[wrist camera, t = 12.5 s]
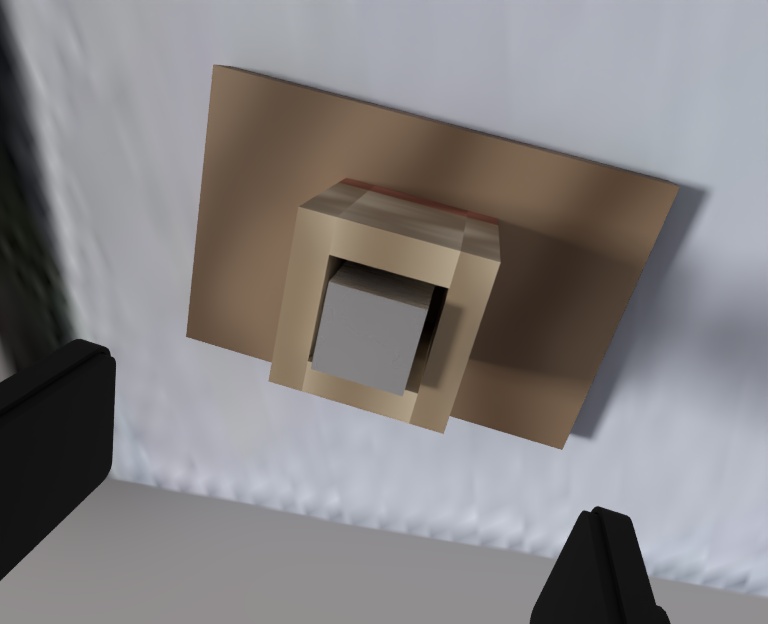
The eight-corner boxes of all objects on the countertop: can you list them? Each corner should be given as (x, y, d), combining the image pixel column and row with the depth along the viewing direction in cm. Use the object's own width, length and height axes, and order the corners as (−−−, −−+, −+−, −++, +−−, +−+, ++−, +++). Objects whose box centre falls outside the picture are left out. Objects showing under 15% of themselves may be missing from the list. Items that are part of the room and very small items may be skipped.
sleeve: (497, 218, 22) (500, 262, 16) (453, 355, 24) (443, 433, 19) (345, 177, 22) (298, 206, 17) (318, 316, 25) (268, 381, 19)
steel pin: (445, 247, 22) (427, 309, 16) (426, 313, 24) (402, 396, 17) (374, 227, 23) (328, 281, 16) (358, 294, 24) (310, 369, 17)
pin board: (667, 180, 22) (679, 186, 20) (558, 431, 26) (562, 449, 25) (230, 66, 23) (213, 64, 21) (201, 324, 28) (186, 336, 26)
